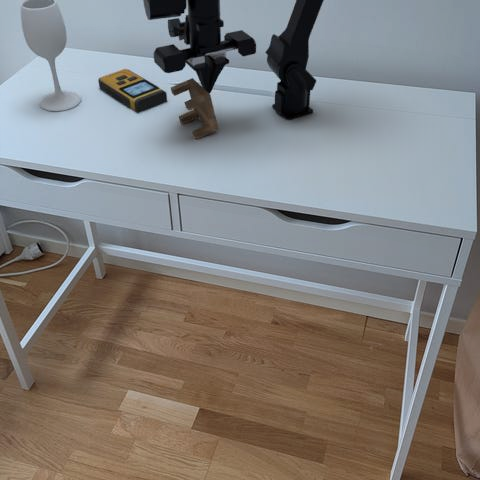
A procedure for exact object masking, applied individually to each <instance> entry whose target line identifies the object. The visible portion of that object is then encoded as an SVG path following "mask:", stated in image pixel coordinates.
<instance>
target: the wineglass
mask: <svg viewBox="0 0 480 480" xmlns="http://www.w3.org/2000/svg"><path fill="white" fill-rule="evenodd" d="M20 21H21V28H22V32H23V37H24V41H25V42H26V43H25V44H27V47H28V48H29V49H30V51H32V53H34V54H35V55H36V56H38V57H39V58H42V59H45V60H46V61H47V62H48V65H49V68H50V71H51V75H52V81H53V86H54V92H51V93H48V94H46V95H45V96H43V97H42V98H41V99H40V101H39V106H40V108H42V109H43V110H46V111H49V112H63V111H67V110H70V109H74V108H75V107H76V106H78V105H79V104H80V103H81V101H82V97H81V96H80V95H79V93H76V92H73V91H67V90H62V89H61V85H60V82H59V77H58V74H57V73H58V72H57V68H56V58H57V57H59V56H60V54H62V53H63V52H64V50H65V48H66V45H67V42H68V41H67V40H68V39H67V37H68V36H67V35H68V34H67V30H66V29H67V28H66V24H65V21H64V17H63V15H62V12H61V9H60V6H59V5H58V3H57V1H56V0H24V1H22V2H21V3H20Z"/></svg>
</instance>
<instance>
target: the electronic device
mask: <svg viewBox="0 0 480 480" xmlns="http://www.w3.org/2000/svg"><path fill="white" fill-rule="evenodd" d="M97 82H98V87H99V89H100V90H101V91H102V90H103V92H104V93H106V94H107V95H109V96H110V95H111V96H110V97H112V98H113V97H114V98H113V99H115V100H116V99H117V101H118V102H119V101H120V102H119V103H121V104H122V103H123V104H122V105H124V106H126V107H127V108H128V109H129V108H130V109H131V110H133V111H134V112H136V113H137V114H140V113H142V111H143V112H145V111H148V110H150V109H153V108H155V107H158V106H161V105H163V104H166V103H167V101H168V96H167V91H165V90H163V89H161V88H160V87H159V86H158V85H156V84H155V83H152V82H151V81H149V80H147V79H146V78H144V77H142V76H140V75H139V74H137V73H135V72H133V71H132V70H130V69H128V68H123V69H121V70H117V71H114V72H112V73H109V74H106V75H104V76H101V77H99V78H98V81H97Z"/></svg>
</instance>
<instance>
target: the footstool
mask: <svg viewBox="0 0 480 480" xmlns="http://www.w3.org/2000/svg"><path fill="white" fill-rule="evenodd" d="M170 91H171V94H172V95H173V96H174V97H177V96H179V95H181V94H182V93H183V94H184V93H185V92H187V91H188V92H189V96H190V99H188V100H186V101H184V105H185V109H186V110H187V112H185V113H183V114H180V115H179V116H178V120H179V122H180V123H181V125H184V124H187V123H189V122H192V121H193V120H196V119H199V120H200V121H201V123H202V124H204V125H203V126H201V127H198V128H197V129H194V130H192V135H193V137H194V138H195V140H196V141H197V140H199V139H201V138H204V137H205V136H207V135H211V134H212V133H214V132H216V131H219V126H218V122H217V118H216V117H217V116H216V113H215V108H214V105H213V100H212V96H211V93H210V94H209V93H208V92H207V91H206V90H205V89H204V88H203V87H202V85H201V84H200V83H199V82H197V81H196V80H195V78H193V77H192V78H190V79H186V80H184V81H182V82H180V83H178V84H176V85H173V86H171V87H170Z"/></svg>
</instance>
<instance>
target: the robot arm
mask: <svg viewBox="0 0 480 480" xmlns="http://www.w3.org/2000/svg"><path fill="white" fill-rule="evenodd" d="M142 1H143V6H144V11H145V15H146V18H147V20H148V21H153V20H161V19H162V20H163V19H167V29H168V34H169V36H170V38H176V37H178V40H179V41H183V43H184V44H185V45H187V46H188V45H189V47H188V48H183V49H180V48H178V47H177V46H176V45H175V44H174V43H172V44H168V45H163V46H157V47H156V48H155V50H154V51H153V60H154V61H153V62H154V63H155V65H156V66H158V68H160V70H162V72H163V73H165V74H171V73H177V72H180V71H183V70H184V68H185V67H186V65H187V66H188V67H190V68H191V69H192V70H193V71H194V72H195V74H196V75H197V78H198V79H199V82H200V83H199V84H200V85H201V86H202V87H203V88H204V89H205V90H206V91H207V92H208V93H209V94H210V95H211V93H212V90H213V89H214V87H215V84H216V83H217V80H218V78H219V76H220V75H221V73H222V71H223V70H224V68H225V66H226V65H229V64H230V60H229V59H228V58H227V52H229V51H230V52H231V51H233V50H234V51H235V50H237V53H238V54H239V55H240V56H241V57H248V56H251V55H255V54H256V53H257V42H256V40H255V39H254V37H252V36H251V35H250V34H248V33H247V32H246V31H244V30H243V29H241V30H235V31H231V32H226V33H225V34H224V38H223V39H224V40H222V36H221V34H222V33H221V28H224V27H225V25H224V20H223V19H221V0H142ZM324 1H325V0H296V1H295V3H294V7H293V9H292V11H291V14H290V17H289V20H288V23H287V26H286V27H285V29H284V30H283V31H282V32H281V34H279V35H277V34H274V33H273V34H272V36H271V39H270V43H269V46H268V48H267V49H266V51H265V54H266V56H267V57H266V62H267V65H268V67H269V69H270V70H271V71H272V73H274V74H275V76H276V77H277V78H278V79H279V81H278V82H277V84H276V90H275V92H274V103H273V104H272V107H271V108H273V109H274V110H275V111H276V112H277V113H279V115H281V116H282V117H283V118H285V120H291V119H295V118H299V117H302V116H306V115H310V114H313V113H314V109H313V108H311V107H310V101H311V91H313V90H314V88H315V86H316V83H317V79H316V78H315V77H314V76H313V75H312V74H311V73H310V72H309V71H308V70H307V66H308V63H309V62H308V61H309V59H310V58H309V57H310V51H309V48H310V46H309V44H310V42H309V41H310V36H311V34H312V31H313V28H314V26H315V24H316V21H317V18H318V16H319V13H320V11H321V9H322V6H323V4H324ZM185 10H187V14H186V15H185V18H184V20H185V21H182V22H181V20H180V18H179V17H181V16H182V14H185ZM177 17H178V18H177ZM168 18H169V19H168ZM170 18H171V19H170Z"/></svg>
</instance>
